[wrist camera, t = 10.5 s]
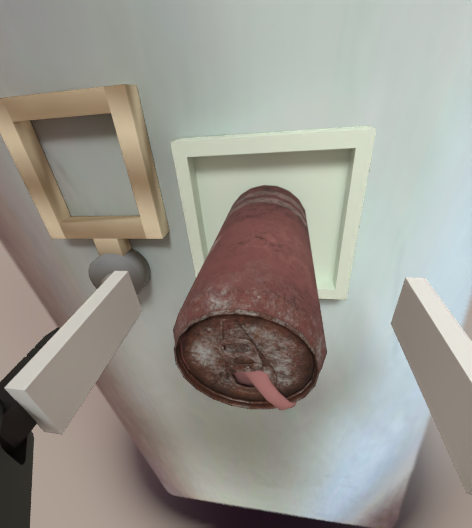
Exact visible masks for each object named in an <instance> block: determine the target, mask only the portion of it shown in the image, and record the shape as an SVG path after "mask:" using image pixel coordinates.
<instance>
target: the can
mask: <svg viewBox="0 0 472 528" xmlns="http://www.w3.org/2000/svg"><path fill="white" fill-rule="evenodd" d="M173 332H174V339H175V347H174V354H175V361H176V365H177V367H178V368H179V370H180V372H181V373H182V375H183V377H184V378H185V379H186V380H187V381H188V382H189V383H190V384H191V385H192V386H193V387H195V388H196V389H197V390H198V391H200V392H202V393H203V394H205V395H207V396H209V397H210V398H212V399H214V400H217V401H220V402H222V403H225V404H228V405H231V406H236V407H241V408H247V409H273V408H278V409H279V410H284V409H288V408H292V407H294V406H295V404H296V402H297V401H298V400H300V399H303V398H304V397H305V396H306V395H307V394H308V393H309V392H310V391H311V390H312V389H313V388H314V387H315V385H316V382H317V379H318V376H319V373H320V371H321V369H322V366H323V363H324V360H325V357H326V354H327V349H326V343H325V336H324V329H323V323H322V316H321V310H320V303H319V297H318V290H317V284H316V277H315V271H314V264H313V258H312V251H311V244H310V238H309V231H308V225H307V219H306V213H305V209H304V207H303V206H302V204H301V202H300V200H299V199H298V198H297V197H296V196H295V195H293V194H292V193H291V192H290V191H288V190H286V189H283V188H281V187H278V186H270V185H262V186H258V187H254V188H251V189H249V190H247V191H246V192H244V193H243V194H241V195H240V196H239V197H238V199H237V200H236V201H235V202H234V203H233V205H232V207H231V209H230V211H229V213H228V215H227V217H226V219H225V221H224V223H223V225H222V227H221V229H220V231H219V233H218V235H217V237H216V239H215V241H214V243H213V245H212V247H211V249H210V251H209V253H208V255H207V257H206V259H205V261H204V263H203V265H202V267H201V269H200V271H199V273H198V275H197V277H196V280H195V282H194V284H193V286H192V288H191V290H190V292H189V294H188V296H187V298H186V300H185V302H184V304H183V306H182V308H181V310H180V312H179V314H178V317H177V320H176V323H175V326H174V329H173Z"/></svg>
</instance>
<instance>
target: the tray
mask: <svg viewBox="0 0 472 528" xmlns="http://www.w3.org/2000/svg"><path fill="white" fill-rule="evenodd" d="M375 134H376V128H373V127H370V126H354V127H339V128H324V129H310V130H295V131H280V132H265V133H251V134H236V135H221V136H206V137H192V138H180V139H177V140H175V141H172V142H170V144H171V149H172V154H173V159H174V165H175V170H176V175H177V180H178V186H179V191H180V196H181V202H182V207H183V212H184V217H185V223H186V228H187V233H188V238H189V244H190V249H191V254H192V259H193V265H194V270H195V275H196V277H197V275H198V273H199V271H200V269H201V267H202V265H203V263H204V261H205V259H206V257H207V255H208V253H209V251H210V249H211V247H212V245H213V243H214V241H215V239H216V237H217V235H218V233H219V231H220V229H221V227H222V225H223V223H224V221H225V219H226V217H227V215H228V213H229V211H230V209H231V207H232V205H233V203H234V202H235V201H236V200H237V199H238V197H239V196H240V195H241V194H243V193H244V192H246V191H247V190H249V189H251V188H254V187H258V186H262V185H270V186H278V187H281V188H283V189H286V190H288V191H290V192H291V193H292V194H293V195H295V196H296V197H297V198H298V199H299V200H300V202H301V204H302V206H303V207H304V209H305V213H306V219H307V225H308V231H309V238H310V244H311V251H312V258H313V264H314V271H315V277H316V284H317V290H318V297H319V299H342V300H346V298H347V293H348V287H349V281H350V276H351V270H352V264H353V259H354V253H355V247H356V242H357V236H358V230H359V225H360V219H361V213H362V208H363V202H364V196H365V191H366V185H367V179H368V174H369V168H370V162H371V157H372V151H373V145H374V140H375Z"/></svg>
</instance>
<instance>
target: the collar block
mask: <svg viewBox="0 0 472 528" xmlns="http://www.w3.org/2000/svg"><path fill="white" fill-rule="evenodd" d="M106 113H111V115H112V119H113V122H114V126H115V129H116V133H117V136H118V140H119V143H120V147H121V151H122V154H123V158H124V161H125V165H126V168H127V172H128V175H129V179H130V183H131V186H132V190H133V193H134V197H135V200H136V204H137V207H138V211H139V214H140V216H70V213H69V211H68V208H67V206H66V204H65V201H64V199H63V197H62V194H61V192H60V190H59V187H58V185H57V183H56V180H55V178H54V175H53V173H52V171H51V168H50V166H49V164H48V161H47V159H46V157H45V154H44V152H43V150H42V147H41V145H40V143H39V140H38V138H37V135H36V133H35V131H34V128H33V126H32V124H31V121H30V120H39V119H50V118H61V117H73V116H84V115H95V114H106ZM0 134H1V136H2V138H3V140H4V142H5V144H6V146H7V148H8V150H9V152H10V154H11V156H12V158H13V160H14V162H15V164H16V166H17V168H18V171H19V173H20V175H21V177H22V179H23V181H24V183H25V185H26V187H27V189H28V191H29V193H30V195H31V197H32V199H33V201H34V203H35V205H36V207H37V210H38V212H39V214H40V216H41V218H42V220H43V222H44V224H45V226H46V228H47V230H48V232H49V234H50V236H51V238H52V239H93V240H94V243H95V245H96V248H97V250H98V253H99V255H100V256H99V257H98V258H97V259H96V260H94V261H93V262H92V263H91V265H90V267H89V277H90V279H91V281H92V283H93V285H94V286H95V287H96V288H97V289H98V288H99V287H100V286H101V285H102V284H103V283H104V282H105V281H106V280H107V278H108V277H109V276H110V275H111V274H112V273H113V272H114V271H128V272H129V275H130V278H131V281H132V283H133V286H134V289H135V292H136V295H138V293H139V292H140V291H141V289H142V288H143V287H144V285H145V284H146V283H147V281H148V280H149V278H150V267H149V264H148V262H147V261H146V259H145V258H144V257H143V256H142V255H141V254H140V253H139V252H138V251H136V250H134V249H133V248H131V245H130V242H129V239H163V238H164V237H165V235H166V234H167V233H168V232H169V227H168V222H167V218H166V213H165V209H164V205H163V200H162V196H161V191H160V187H159V183H158V178H157V174H156V169H155V165H154V161H153V156H152V152H151V148H150V143H149V139H148V134H147V130H146V126H145V121H144V117H143V112H142V108H141V104H140V99H139V95H138V90H137V86H136V85H127V84H123V85H114V86H105V87H96V88H87V89H78V90H69V91H59V92H50V93H41V94H32V95H23V96H14V97H5V98H0Z"/></svg>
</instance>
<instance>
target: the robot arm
mask: <svg viewBox="0 0 472 528" xmlns="http://www.w3.org/2000/svg"><path fill="white" fill-rule="evenodd" d="M141 312H142V309H141V306H140V303H139V300H138V297H137V295H136V292H135V289H134V286H133V283H132V281H131V278H130V275H129V272H128V271H114V272H113V273H112V274H111V275H110V276H109V277H108V278H107V280H106V281H105V282H104V283H103V284H102V285H101V286H100V287H99V288H98V289H97V290H96V291H95V292H94V293H93V294H92V295H91V296H90V298H89V299H88V300H87V301H86V302H85V303H84V304H83V305H82V306H81V307H80V308H79V309H78V310H77V311H76V312H75V313H74V314H73V316H72V317H71V318H70V319H69V320H68V321H67V322H66V323H65V324H64V325H63V326H62V327H61V328H56V329H55V330H54V331H52V332H50V333H49V334H48V335H46V336H45V337H44V338H43V339H42V340H41V341H40V342H39V343H38V344H37V345H36V346H35V348H34V349H32V350H31V351H30V352H29V353H28V354H27V357H24V358H23V359H22V360H21V361H20V362H19V363H18V364H17V366H15V367H14V369H12V370H11V372H10V373H9V374H8V375H7V376H6V377H5V378H4V379H3V380H2V381H1V382H0V528H30V510H31V509H30V508H31V488H32V467H33V447H34V436H33V433H32V432H31V430H32V429H33V427H34V426H35V425H36V424H38V425H39V427H40V428H41V429H42V430H43V431H44V432H50V433H56V434H63V432H64V431H65V429H66V428H67V426H68V425H69V423H70V421H71V420H72V418H73V417H74V415H75V414H76V412H77V411H78V409H79V408H80V406H81V405H82V403H83V401H84V400H85V398H86V397H87V395H88V394H89V392H90V391H91V389H92V388H93V386H94V385H95V383H96V382H97V380H98V378H99V377H100V375H101V374H102V372H103V371H104V369H105V368H106V366H107V365H108V363H109V362H110V360H111V358H112V357H113V355H114V354H115V352H116V351H117V349H118V348H119V346H120V345H121V343H122V341H123V340H124V338H125V337H126V335H127V334H128V332H129V331H130V329H131V328H132V326H133V325H134V323H135V321H136V320H137V318H138V317H139V315H140V314H141ZM391 325H392V327H393V329H394V332H395V334H396V336H397V338H398V341H399V343H400V345H401V347H402V350H403V352H404V354H405V356H406V359H407V361H408V363H409V365H410V368H411V370H412V372H413V374H414V377H415V379H416V381H417V383H418V386H419V388H420V390H421V392H422V395H423V397H424V399H425V401H426V404H427V406H428V408H429V410H430V413H431V415H432V417H433V419H434V422H435V423H436V426H437V428H438V430H439V433H440V435H441V437H442V439H443V442H444V444H445V446H446V448H447V451H448V453H449V455H450V457H451V460H452V462H453V464H454V466H455V469H456V471H457V473H458V475H459V478H460V480H461V482H462V484H463V487H464V489H465V491H466V493H467V494H472V341H471V340H470V339H469V337H468V336H467V335H466V333H465V332H464V330H463V329H462V328H461V326H460V325H459V324H458V322H457V321H456V320H455V318H454V317H453V315H452V314H451V313H450V311H449V310H448V309H447V307H446V306H445V305H444V303H443V302H442V300H441V299H440V298H439V296H438V295H437V294H436V292H435V291H434V290H433V288H432V287H431V285H430V284H429V283H428V281H427V280H426V279H425V278H405V281H404V284H403V287H402V290H401V293H400V297H399V300H398V303H397V306H396V309H395V312H394V315H393V319H392V322H391Z"/></svg>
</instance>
